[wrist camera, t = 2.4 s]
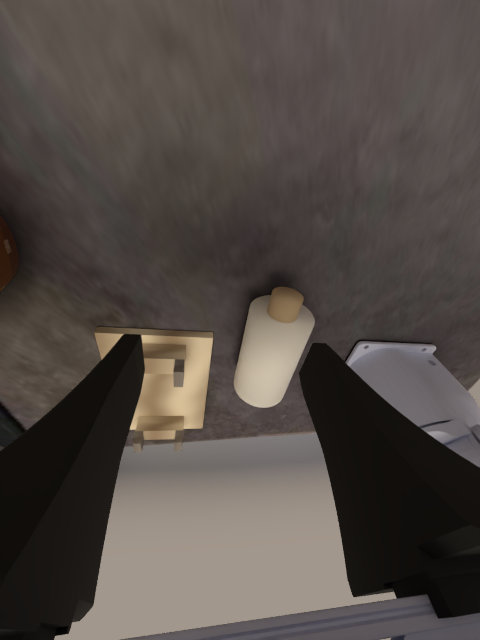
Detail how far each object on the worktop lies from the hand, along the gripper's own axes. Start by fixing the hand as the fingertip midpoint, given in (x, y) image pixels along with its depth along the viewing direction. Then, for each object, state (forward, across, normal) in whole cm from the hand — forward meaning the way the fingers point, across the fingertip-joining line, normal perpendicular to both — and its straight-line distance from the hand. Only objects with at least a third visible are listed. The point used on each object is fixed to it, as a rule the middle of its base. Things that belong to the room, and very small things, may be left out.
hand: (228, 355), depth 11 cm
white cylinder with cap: (+10, -5, +8) cm, 14 cm away
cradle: (+10, +5, +16) cm, 19 cm away
